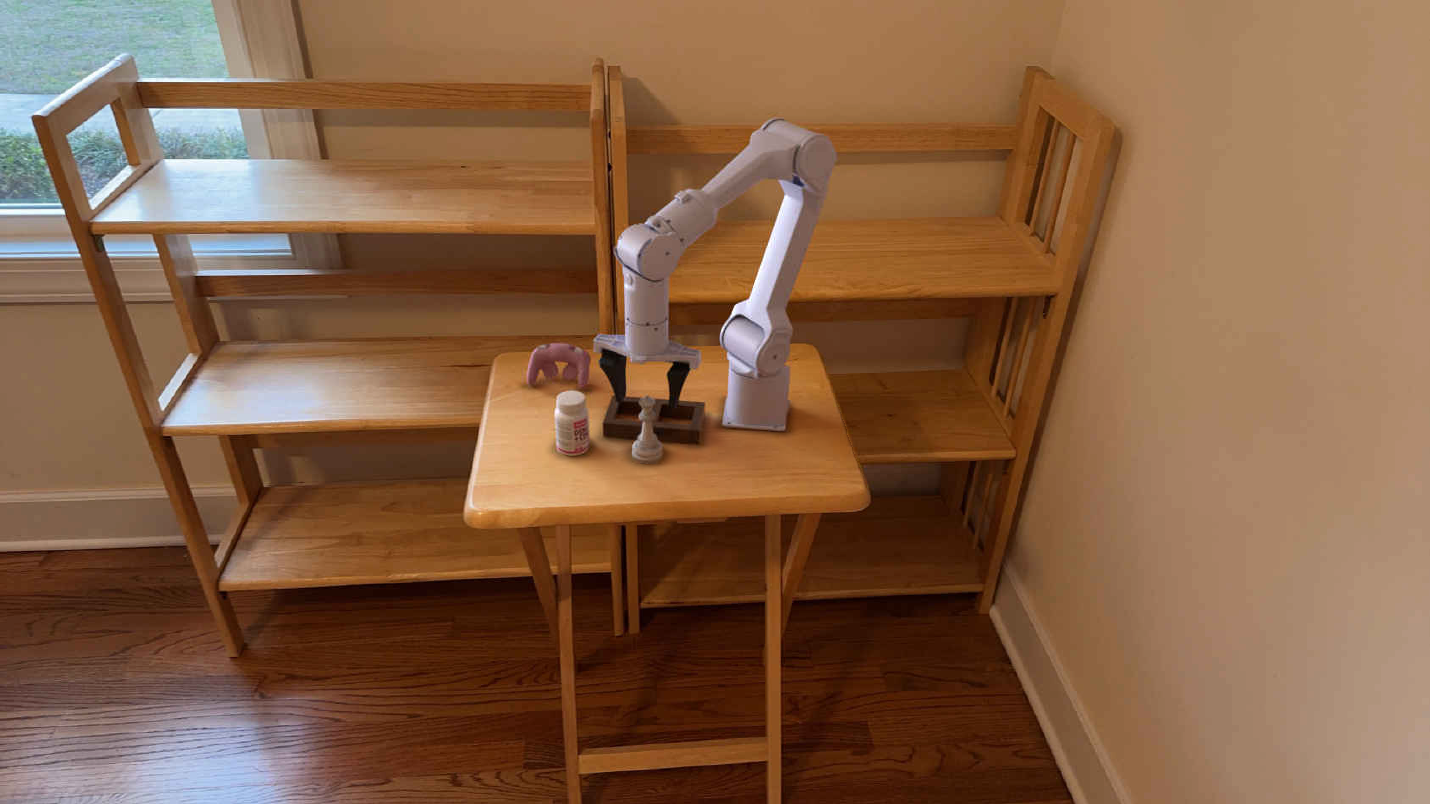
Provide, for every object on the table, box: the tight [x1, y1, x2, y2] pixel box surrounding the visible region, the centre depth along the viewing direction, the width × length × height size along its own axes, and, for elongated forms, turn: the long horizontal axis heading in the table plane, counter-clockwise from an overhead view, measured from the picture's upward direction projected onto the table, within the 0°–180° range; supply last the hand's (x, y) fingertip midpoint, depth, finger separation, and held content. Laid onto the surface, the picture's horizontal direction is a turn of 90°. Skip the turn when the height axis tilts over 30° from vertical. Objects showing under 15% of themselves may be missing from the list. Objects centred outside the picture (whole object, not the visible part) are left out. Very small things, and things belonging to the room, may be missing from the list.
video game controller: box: [526, 342, 592, 391], centre depth 152 cm, size 10×5×7 cm, turn 84°
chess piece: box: [631, 395, 664, 464], centre depth 134 cm, size 4×4×10 cm
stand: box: [602, 395, 706, 445], centre depth 142 cm, size 14×8×2 cm, turn 85°
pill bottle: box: [554, 390, 590, 457], centre depth 136 cm, size 5×5×8 cm
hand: (647, 403), depth 132 cm, fingers open, 7 cm apart
